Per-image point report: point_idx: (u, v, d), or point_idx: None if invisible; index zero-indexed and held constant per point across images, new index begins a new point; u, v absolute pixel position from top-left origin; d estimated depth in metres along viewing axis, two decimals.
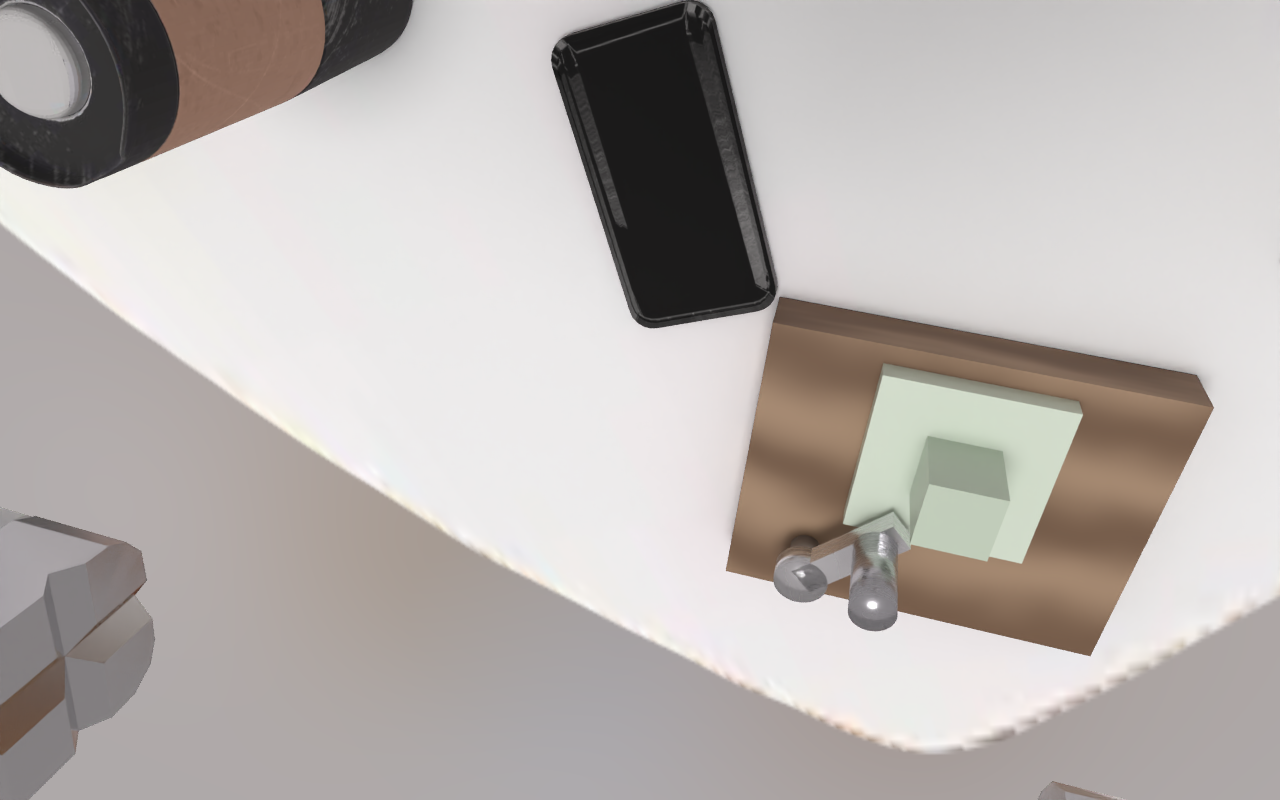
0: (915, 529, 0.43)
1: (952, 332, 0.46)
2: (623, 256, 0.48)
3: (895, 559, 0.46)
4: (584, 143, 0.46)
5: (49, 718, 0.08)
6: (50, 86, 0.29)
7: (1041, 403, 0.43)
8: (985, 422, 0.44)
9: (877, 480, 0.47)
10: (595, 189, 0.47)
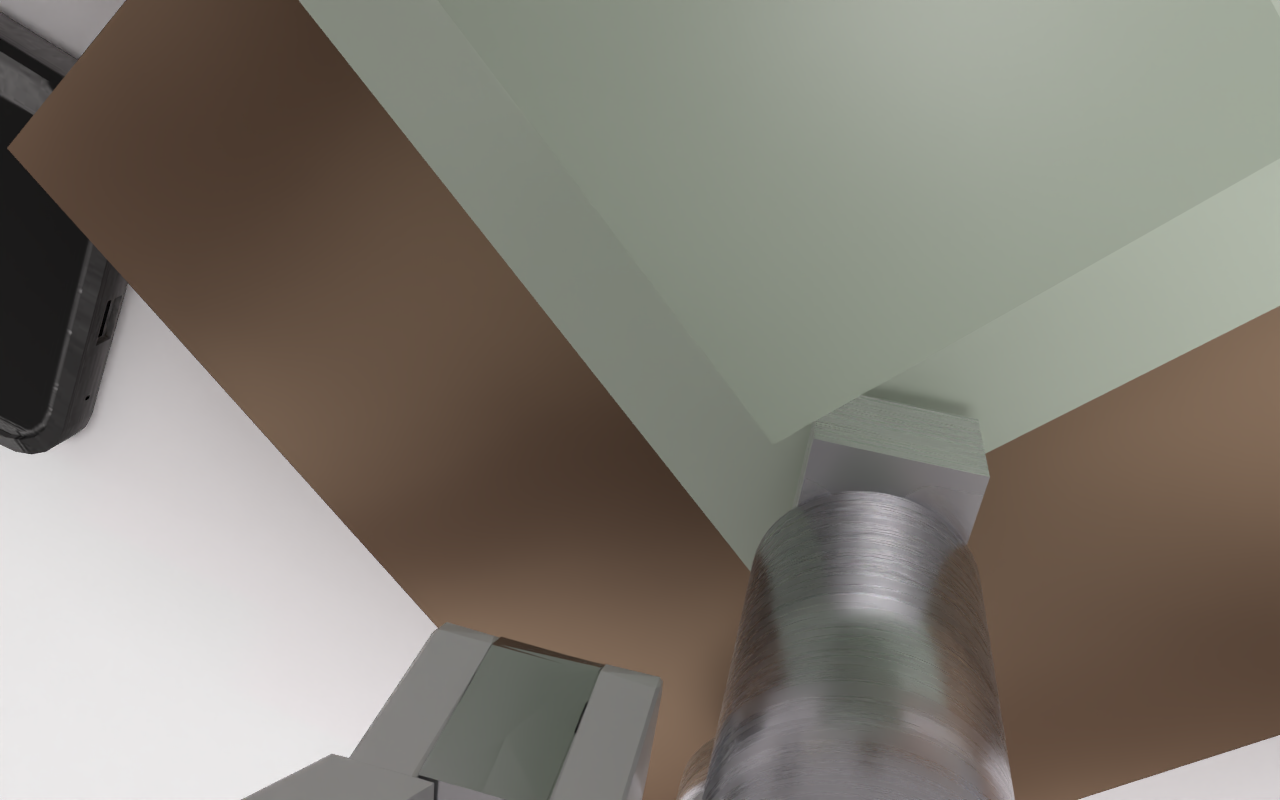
0: (699, 335, 0.06)
1: None
2: None
3: (903, 578, 0.08)
4: None
5: None
6: None
7: None
8: None
9: (666, 325, 0.10)
10: None
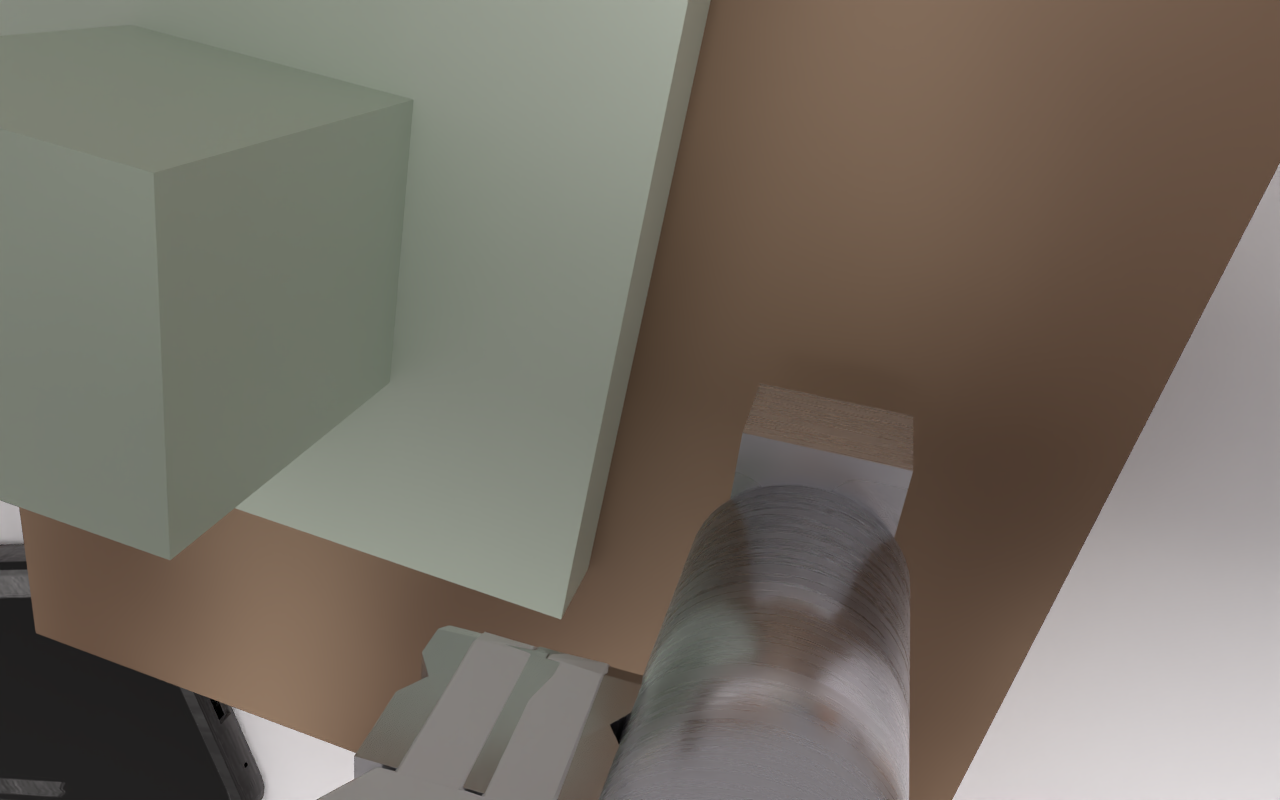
0: (83, 525, 0.08)
1: None
2: None
3: (816, 567, 0.08)
4: None
5: None
6: None
7: None
8: None
9: (355, 483, 0.13)
10: None
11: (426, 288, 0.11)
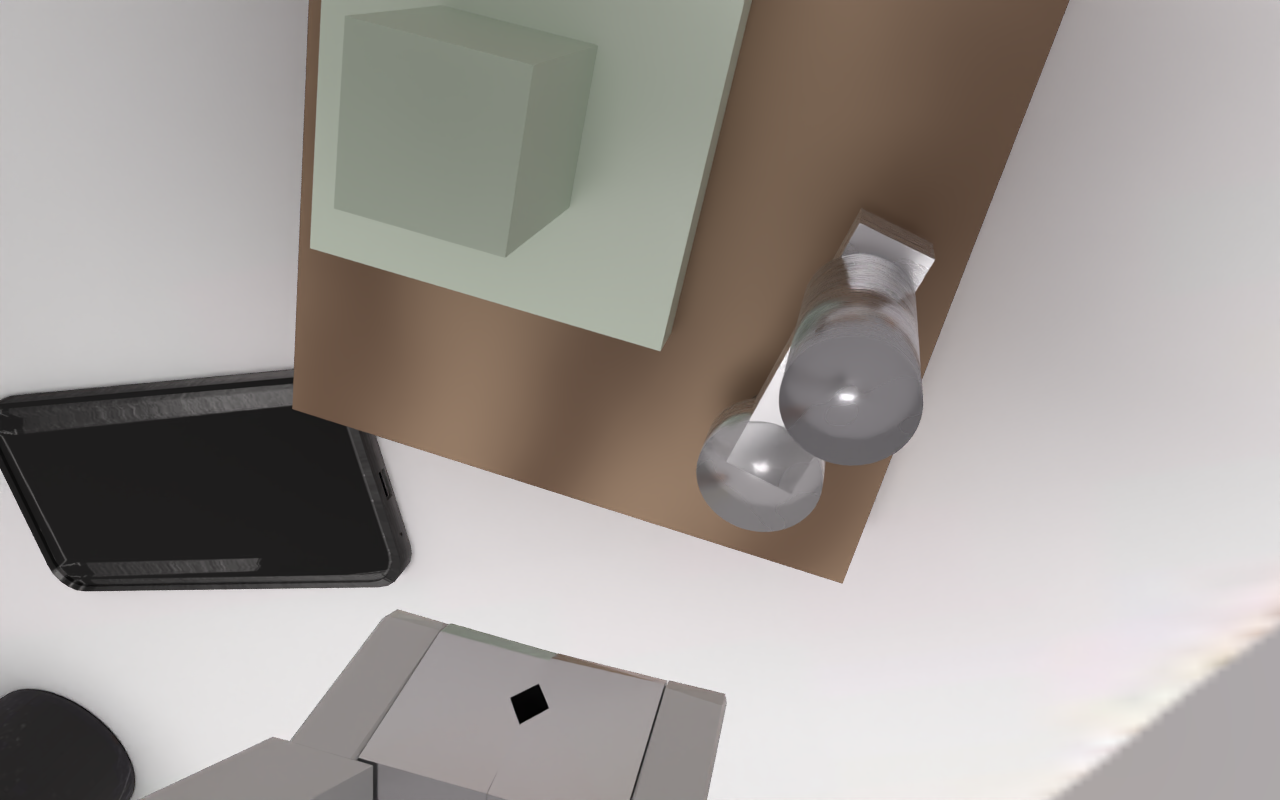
0: (461, 242, 0.18)
1: None
2: (301, 573, 0.33)
3: (891, 282, 0.17)
4: (162, 580, 0.35)
5: None
6: None
7: None
8: None
9: (542, 272, 0.22)
10: (216, 583, 0.34)
11: (596, 150, 0.21)
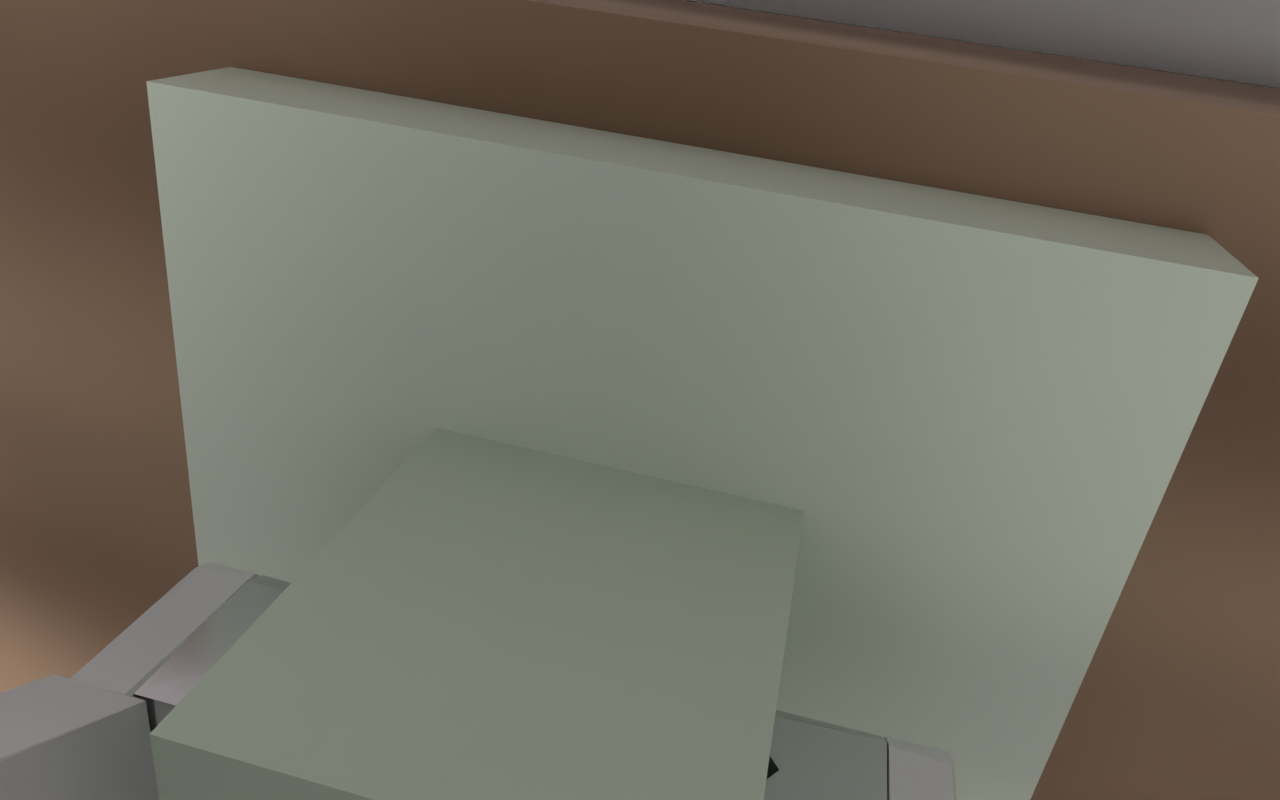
0: None
1: None
2: None
3: None
4: None
5: None
6: None
7: (996, 223, 0.07)
8: (697, 346, 0.08)
9: None
10: None
11: None
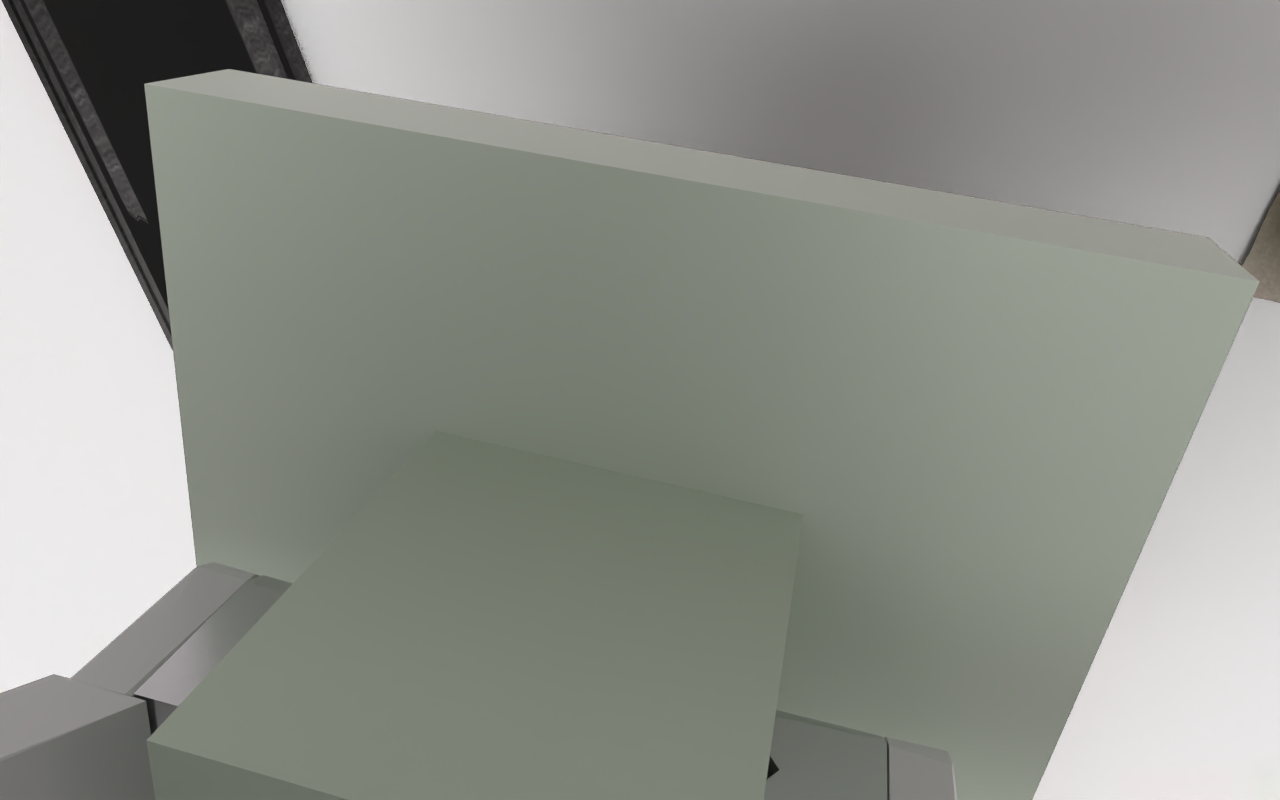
0: None
1: None
2: (152, 271, 0.29)
3: None
4: (51, 73, 0.27)
5: None
6: None
7: (997, 228, 0.07)
8: (697, 349, 0.08)
9: None
10: (86, 155, 0.28)
11: None
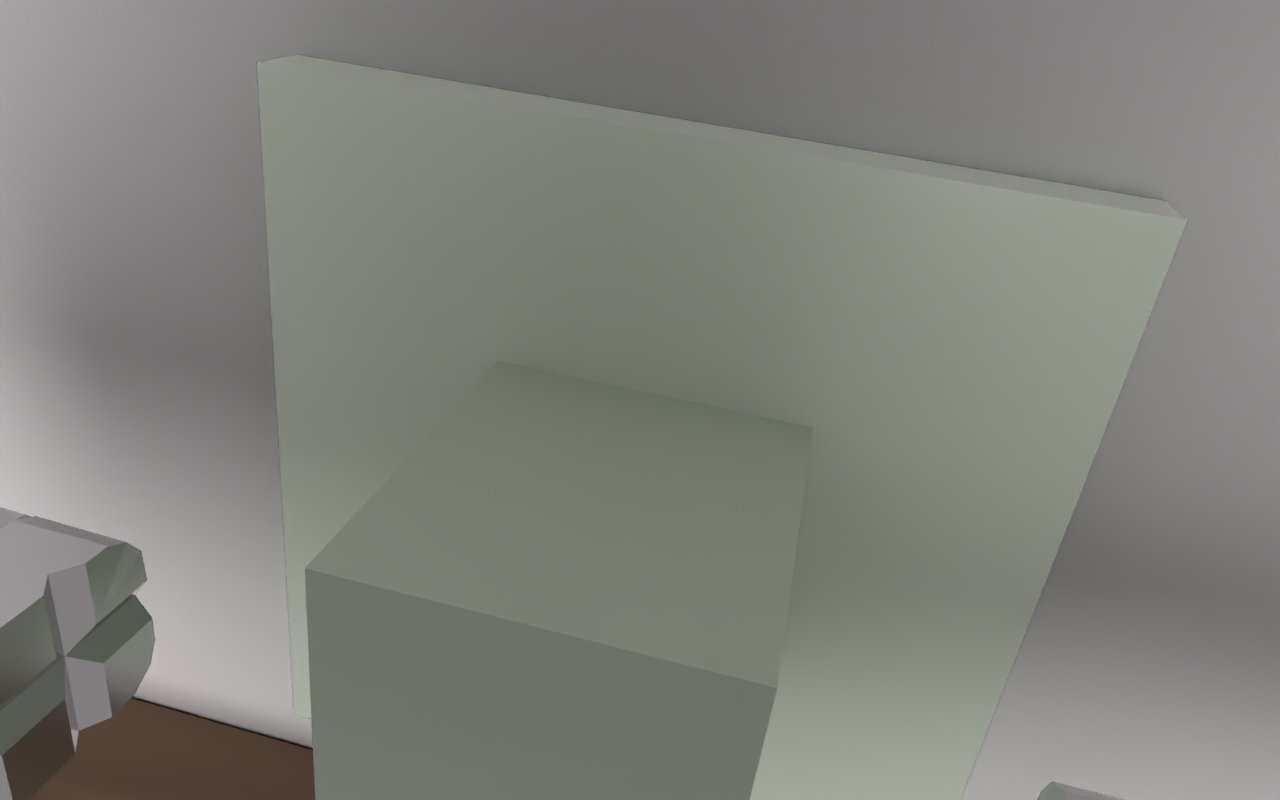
0: None
1: None
2: None
3: None
4: None
5: (49, 718, 0.08)
6: None
7: (975, 178, 0.09)
8: (724, 285, 0.10)
9: None
10: None
11: None
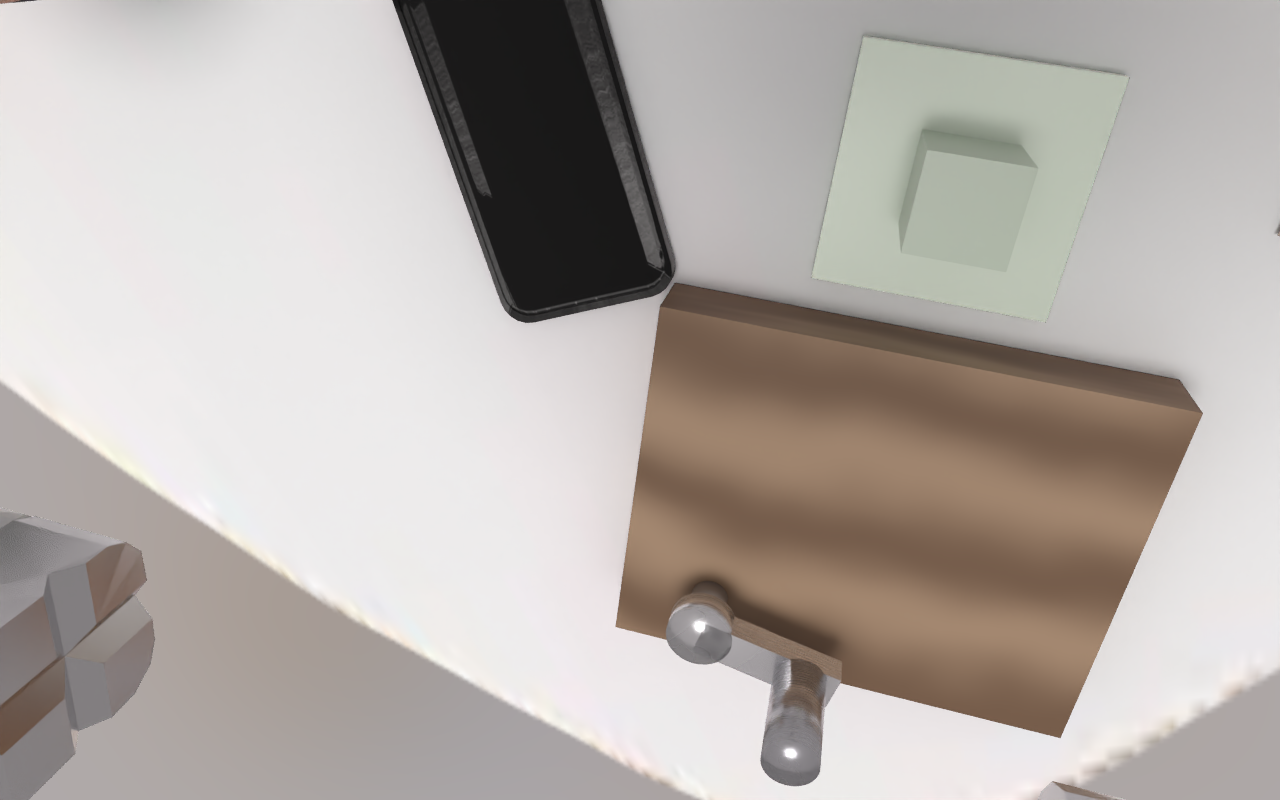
0: (908, 227, 0.32)
1: (881, 325, 0.38)
2: (489, 233, 0.40)
3: None
4: (434, 91, 0.38)
5: (49, 718, 0.08)
6: None
7: (1073, 68, 0.33)
8: (999, 101, 0.33)
9: (856, 205, 0.36)
10: (451, 149, 0.39)
11: None
